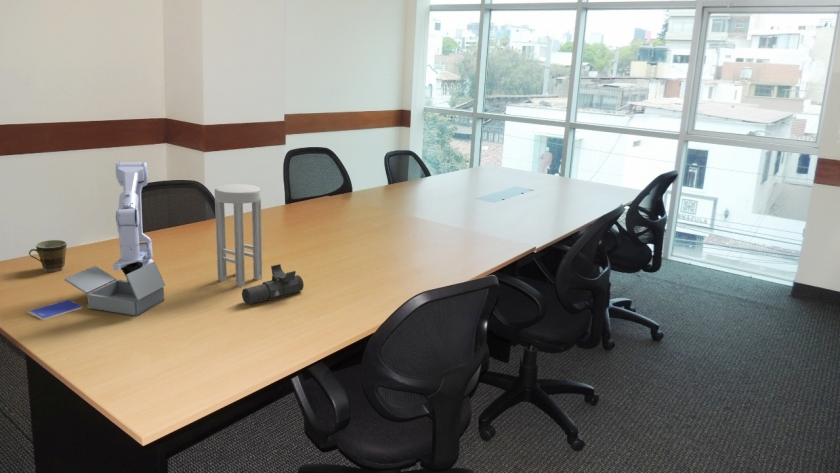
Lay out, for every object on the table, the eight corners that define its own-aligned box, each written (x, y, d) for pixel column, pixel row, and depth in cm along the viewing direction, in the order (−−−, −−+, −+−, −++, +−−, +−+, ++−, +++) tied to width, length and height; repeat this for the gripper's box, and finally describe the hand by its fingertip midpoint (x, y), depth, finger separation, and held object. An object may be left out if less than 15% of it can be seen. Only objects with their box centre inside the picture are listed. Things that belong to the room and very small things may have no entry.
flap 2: (153, 261, 216) (154, 261, 216) (164, 285, 218) (165, 285, 217) (125, 274, 203) (126, 274, 203) (137, 300, 205) (138, 299, 204)
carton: (119, 292, 224) (118, 279, 222) (165, 299, 220) (164, 286, 218) (87, 308, 209) (86, 294, 208) (136, 316, 205) (135, 302, 204)
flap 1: (116, 278, 222) (115, 280, 222) (95, 265, 222) (94, 266, 223) (86, 292, 209) (86, 294, 209) (64, 278, 209) (64, 279, 209)
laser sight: (238, 300, 223) (238, 273, 220) (293, 286, 239) (293, 261, 236) (254, 309, 216) (253, 281, 214) (309, 294, 232) (309, 268, 229)
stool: (240, 289, 232) (237, 194, 223) (209, 280, 240) (205, 188, 230) (270, 278, 245) (268, 187, 236) (240, 269, 253) (237, 181, 243)
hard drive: (42, 316, 199) (81, 305, 210) (28, 310, 204) (67, 299, 214) (43, 321, 200) (82, 309, 210) (29, 314, 204) (68, 303, 214)
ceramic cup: (61, 263, 249) (58, 238, 247) (74, 269, 244) (71, 243, 241) (25, 271, 239) (22, 245, 237) (38, 277, 234) (35, 251, 231)
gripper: (125, 252, 201) (128, 293, 204) (154, 240, 214) (157, 278, 218) (105, 249, 202) (109, 290, 206) (136, 237, 216) (138, 276, 219)
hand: (132, 284), depth 212 cm, fingers closed
